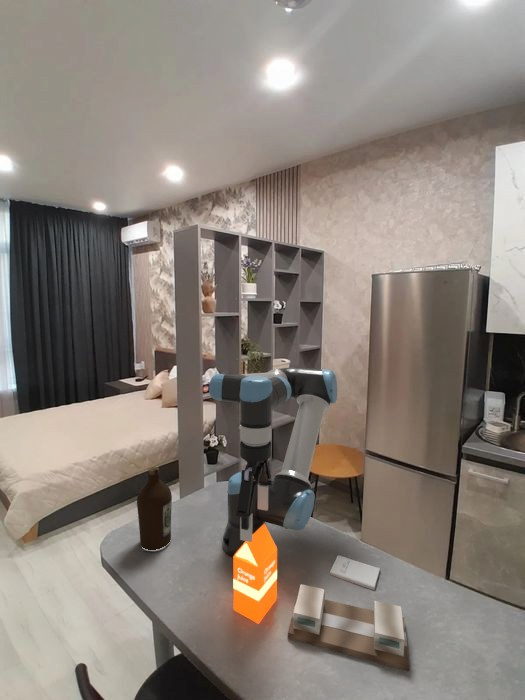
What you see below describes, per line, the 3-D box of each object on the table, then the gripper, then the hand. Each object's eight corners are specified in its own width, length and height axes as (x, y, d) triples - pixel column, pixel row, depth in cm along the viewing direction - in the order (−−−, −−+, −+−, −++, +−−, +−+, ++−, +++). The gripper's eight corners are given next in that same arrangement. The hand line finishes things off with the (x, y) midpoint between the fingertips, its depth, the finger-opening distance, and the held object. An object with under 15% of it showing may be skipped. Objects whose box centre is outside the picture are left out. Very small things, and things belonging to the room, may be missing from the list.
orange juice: (277, 599, 94) (277, 527, 92) (258, 624, 87) (259, 546, 85) (252, 587, 98) (252, 518, 96) (232, 609, 91) (232, 535, 89)
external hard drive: (374, 592, 98) (329, 576, 103) (379, 573, 105) (337, 558, 111) (374, 587, 97) (329, 571, 103) (380, 567, 105) (338, 554, 110)
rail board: (287, 638, 83) (288, 616, 83) (297, 598, 95) (297, 579, 94) (408, 670, 76) (410, 647, 75) (403, 623, 87) (404, 602, 87)
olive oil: (133, 553, 112) (130, 476, 109) (145, 532, 122) (143, 461, 119) (167, 554, 111) (164, 477, 108) (176, 533, 122) (175, 462, 119)
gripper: (256, 423, 100) (255, 496, 103) (221, 459, 77) (221, 552, 79) (282, 426, 98) (281, 500, 101) (254, 463, 75) (254, 559, 77)
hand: (255, 523), depth 90 cm, fingers open, 13 cm apart
